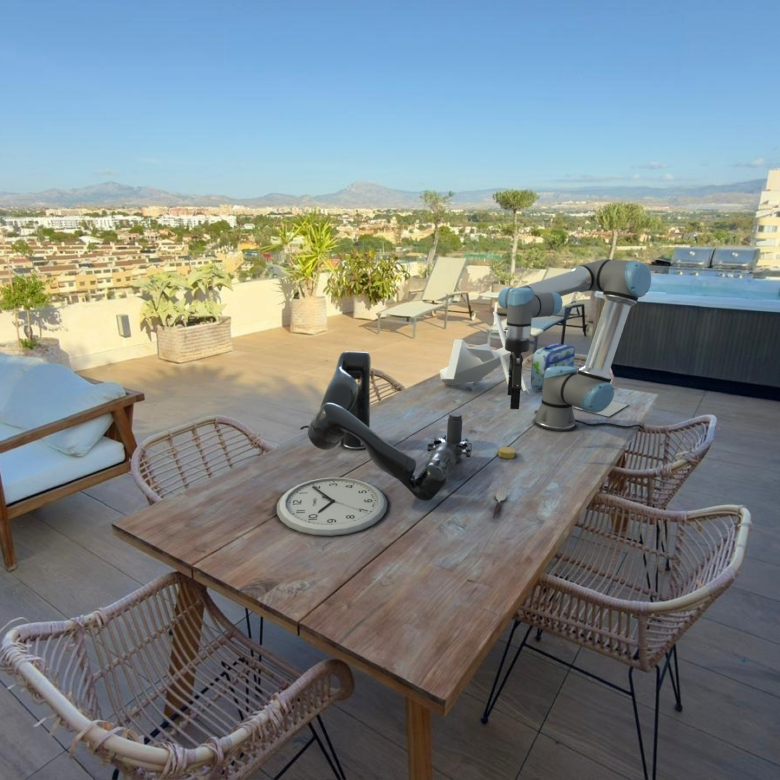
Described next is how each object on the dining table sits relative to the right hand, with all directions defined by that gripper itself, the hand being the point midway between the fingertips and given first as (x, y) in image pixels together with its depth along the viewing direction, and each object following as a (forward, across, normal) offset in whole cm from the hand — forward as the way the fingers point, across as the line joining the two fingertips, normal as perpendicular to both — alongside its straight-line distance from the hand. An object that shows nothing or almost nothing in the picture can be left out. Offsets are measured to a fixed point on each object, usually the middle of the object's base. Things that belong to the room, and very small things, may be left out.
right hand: (512, 401), depth 171 cm
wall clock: (+17, +44, -50) cm, 69 cm away
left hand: (+12, +6, -18) cm, 22 cm away
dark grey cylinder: (+18, +8, -19) cm, 27 cm away
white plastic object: (+20, -69, -9) cm, 72 cm away
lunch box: (+21, -83, +25) cm, 89 cm away
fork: (+18, +36, -5) cm, 41 cm away
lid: (+17, +1, -1) cm, 17 cm away
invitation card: (+21, -58, +43) cm, 75 cm away
